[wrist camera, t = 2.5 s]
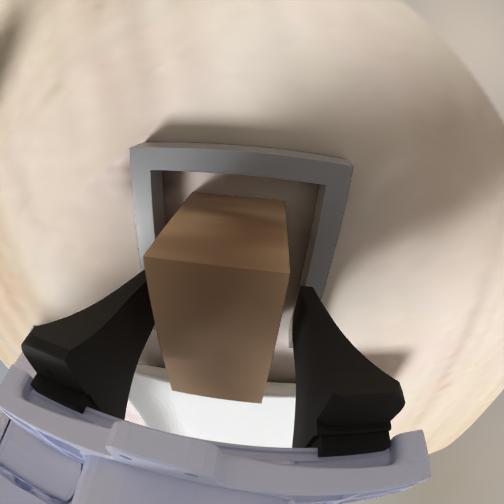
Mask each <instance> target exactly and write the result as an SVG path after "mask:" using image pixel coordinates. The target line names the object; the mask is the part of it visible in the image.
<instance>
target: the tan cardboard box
mask: <svg viewBox="0 0 504 504" xmlns="http://www.w3.org/2000/svg"><path fill="white" fill-rule="evenodd" d="M143 261H144V267H145V273H146V279H147V285H148V291H149V296H150V302H151V307H152V312H153V316H154V321H155V326H156V330H157V335H158V339H159V343H160V347H161V352H162V356H163V359H164V363H165V367H166V371H167V375H168V378H169V382H170V385H171V389H172V391H177V392H182V393H187V394H192V395H198V396H204V397H210V398H217V399H224V400H231V401H240V402H249V403H260V404H262V400H263V396H264V392H265V387H266V383H267V379H268V375H269V371H270V366H271V362H272V358H273V353H274V349H275V344H276V340H277V335H278V331H279V326H280V321H281V317H282V312H283V307H284V302H285V297H286V292H287V287H288V282H289V277H290V263H289V249H288V235H287V223H286V210H285V201H279V200H270V199H261V198H251V197H241V196H231V195H219V194H207V193H193V192H192V193H191V194H190V196H189V197H188V198H187V199H186V201H185V202H184V203H183V204H182V205H181V207H180V208H179V209H178V211H177V212H176V213H175V214H174V216H173V217H172V218H171V219H170V221H169V222H168V223H167V225H166V226H165V227H164V229H163V230H162V231H161V232H160V234H159V235H158V236H157V238H156V239H155V240H154V242H153V243H152V245H151V246H150V247H149V249H148V250H147V251H146V253H145V254H144V256H143Z"/></svg>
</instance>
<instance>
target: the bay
mask: <svg viewBox="0 0 504 504" xmlns="http://www.w3.org/2000/svg"><path fill="white" fill-rule="evenodd" d="M130 167H131V183H132V196H133V207H134V216H135V225H136V234H137V241H138V248H139V255H140V262H141V268H142V271H143V270H145V267H144V261H143V256H144V254H145V253H146V251H147V250H148V249H149V247H150V246H151V245H152V243H153V242H154V240H155V239H156V238H157V236H158V235H159V234H160V232H161V231H162V230H163V229H164V227H165V212H164V191H163V170H169V171H191V172H208V173H222V174H234V175H245V176H256V177H265V178H274V179H283V180H291V181H299V182H306V183H313V184H319V190H318V195H317V201H316V206H315V212H314V217H313V222H312V227H311V232H310V237H309V242H308V247H307V252H306V257H305V262H304V266H303V271H302V275H301V280H300V284H299V288H300V286H309V287H313V288H314V289H315V291H316V293H317V295H318V297H319V298H320V300H321V297H322V294H323V291H324V287H325V284H326V280H327V277H328V273H329V270H330V266H331V262H332V258H333V255H334V251H335V247H336V243H337V239H338V235H339V231H340V227H341V223H342V218H343V214H344V210H345V205H346V201H347V196H348V192H349V187H350V182H351V177H352V172H353V167H354V166H352V165H351V164H350V163H349V162H348V161H347V160H346V159H343V158H338V157H332V156H326V155H320V154H313V153H307V152H300V151H292V150H284V149H276V148H266V147H256V146H245V145H232V144H216V143H193V142H143V143H141V144H138V145H136V146H134V147H131V148H130ZM298 292H299V289H298ZM297 296H298V293H297ZM296 300H297V297H296ZM295 305H296V302H295ZM294 309H295V306H294ZM293 313H294V310H293ZM292 317H293V314H292ZM153 329H155V330H156V326H155V325H154V327H153ZM289 348H293V340H292V318H291V322H290V326H289Z"/></svg>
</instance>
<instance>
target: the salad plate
mask: <svg viewBox="0 0 504 504" xmlns="http://www.w3.org/2000/svg"><path fill="white" fill-rule="evenodd" d="M128 399H129V401H130V402H131V404H132V405H133V407H134V409H135V410H136V412H137V413H138V415H139V416H140V418H141V419H142V421H143V422H144V424H145V425H146V427H149V428H153V429H157V430H161V431H165V432H169V433H173V434H178V435H183V436H187V437H193V438H198V439H204V440H210V441H216V442H223V443H231V444H239V445H249V446H261V447H279V448H292V442H293V432H294V419H295V401H296V383H276V382H267V383H266V387H265V392H264V396H263V400H262V404H260V403H249V402H240V401H231V400H224V399H217V398H210V397H204V396H198V395H192V394H187V393H182V392H177V391H172V389H171V385H170V382H169V378H168V375H167V371H166V368H160V367H154V366H148V365H137V367H136V370H135V373H134V377H133V381H132V384H131V388H130V393H129V397H128Z"/></svg>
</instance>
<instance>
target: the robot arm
mask: <svg viewBox="0 0 504 504" xmlns="http://www.w3.org/2000/svg"><path fill="white" fill-rule="evenodd" d="M154 325H155V321H154V316H153V312H152V307H151V302H150V296H149V291H148V285H147V279H146V273H145V270H143V271H142V272H140V273H139V274H138V275H136V276H135V277H134V278H132V279H131V280H130V281H128V282H127V283H125V284H124V285H123V286H121V287H120V288H119V289H117V290H116V291H114V292H113V293H111V294H110V295H108V296H107V297H105V298H104V299H102V300H101V301H99V302H97V303H95V304H94V305H92V306H90V307H88V308H86V309H84V310H82V311H80V312H77V313H75V314H73V315H71V316H68V317H66V318H63V319H60V320H57V321H54V322H51V323H47V324H43V325H40V326H35V327H34V328H32V329H31V330H30V333H29V335H28V336H27V337H26V339H25V340H24V342H23V343H22V346H21V347H22V351H23V352H22V353H21V355H20V356H19V358H18V359H17V361H16V362H15V364H14V365H11V367H10V369H9V370H8V372H7V373H6V375H5V377H4V379H3V380H2V382H1V384H0V504H343V503H350V502H356V501H361V500H366V499H371V498H376V497H381V496H385V495H389V494H394V493H397V492H401V491H404V490H406V489H408V488H411V487H413V486H415V485H417V484H419V483H421V482H423V481H425V480H427V479H429V478H431V477H432V472H431V466H430V461H429V456H428V451H427V446H426V442H425V437H424V433H423V430H416V431H411V432H406V433H401V434H398V435H396V436H394V437H393V438H392V439H391V440H390V437H389V431H390V430H391V423H390V421H391V420H392V419H393V418H394V417H395V416H396V415H397V414H398V413H399V412H400V411H401V410H402V408H403V407H404V405H405V400H404V396H403V392H402V389H401V386H400V383H399V382H398V381H397V380H395V379H394V378H392V377H391V376H389V375H388V374H386V373H384V372H383V371H382V370H380V369H379V368H378V367H376V366H375V365H374V364H373V363H371V362H370V361H369V360H368V359H367V358H366V357H365V356H364V355H362V354H361V353H360V352H359V351H358V350H357V349H356V348H355V347H354V346H353V345H352V344H351V342H350V341H349V340H348V339H347V338H346V337H345V336H344V334H343V333H342V332H341V330H340V329H339V328H338V326H337V325H336V324H335V322H334V321H333V319H332V318H331V316H330V315H329V313H328V312H327V310H326V309H325V307H324V305H323V304H322V302H321V300H320V298H319V297H318V295H317V293H316V291H315V289H314V288H313V287H309V286H300V288H299V292H298V296H297V300H296V305H295V309H294V313H293V317H292V340H293V350H294V360H295V371H296V401H295V419H294V432H293V442H292V448H279V447H261V446H249V445H239V444H231V443H223V442H216V441H210V440H204V439H198V438H193V437H187V436H183V435H178V434H173V433H169V432H165V431H161V430H157V429H153V428H149V427H146V426H142V425H139V424H135V423H132V422H129V421H125V420H124V419H125V413H126V407H127V402H128V397H129V393H130V388H131V384H132V381H133V377H134V373H135V370H136V367H137V364H138V360H139V358H140V355H141V353H142V350H143V348H144V346H145V344H146V342H147V340H148V337H149V335H150V333H151V331H152V329H153V327H154ZM6 469H7V470H6ZM9 471H10V472H9ZM12 473H13V474H12ZM15 475H16V476H15ZM18 477H19V478H18ZM26 482H27V483H26ZM31 485H32V486H31ZM38 489H39V490H38Z"/></svg>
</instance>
